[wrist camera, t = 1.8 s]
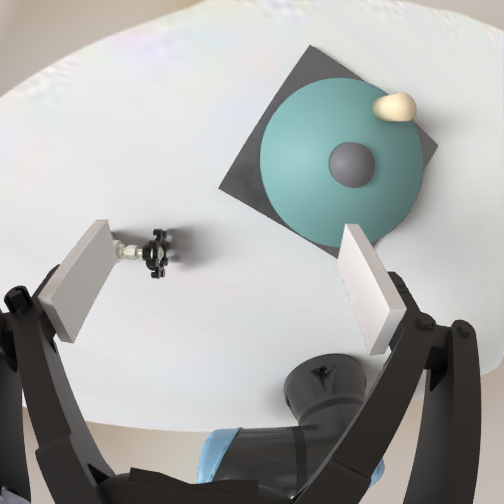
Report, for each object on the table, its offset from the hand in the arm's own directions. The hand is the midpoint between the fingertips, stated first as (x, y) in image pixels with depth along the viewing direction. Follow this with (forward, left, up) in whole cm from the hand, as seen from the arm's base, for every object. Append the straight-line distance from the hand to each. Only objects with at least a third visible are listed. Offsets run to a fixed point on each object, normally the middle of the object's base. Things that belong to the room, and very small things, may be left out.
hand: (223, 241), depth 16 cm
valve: (+9, +15, -23) cm, 29 cm away
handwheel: (-9, -9, -20) cm, 23 cm away
